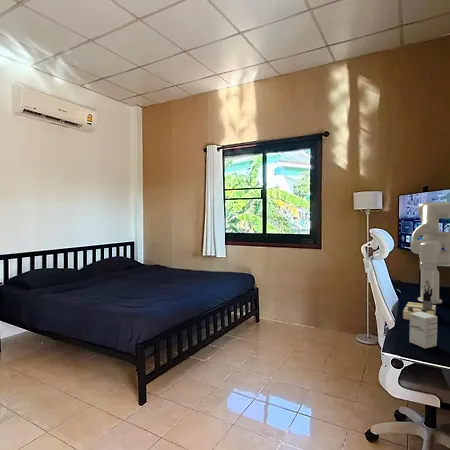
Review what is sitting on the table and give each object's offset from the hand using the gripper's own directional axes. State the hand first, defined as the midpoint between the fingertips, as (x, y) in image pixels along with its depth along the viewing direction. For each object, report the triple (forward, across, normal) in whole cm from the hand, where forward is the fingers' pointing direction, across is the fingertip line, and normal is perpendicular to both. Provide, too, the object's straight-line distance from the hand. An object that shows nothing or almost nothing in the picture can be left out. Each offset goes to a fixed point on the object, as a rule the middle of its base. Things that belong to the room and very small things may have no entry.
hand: (427, 298), depth 173 cm
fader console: (+10, +1, -3) cm, 10 cm away
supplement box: (+8, +42, +2) cm, 43 cm away
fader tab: (+5, +1, 0) cm, 5 cm away
